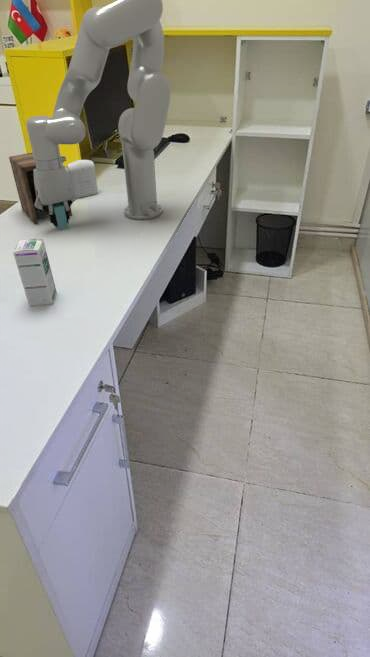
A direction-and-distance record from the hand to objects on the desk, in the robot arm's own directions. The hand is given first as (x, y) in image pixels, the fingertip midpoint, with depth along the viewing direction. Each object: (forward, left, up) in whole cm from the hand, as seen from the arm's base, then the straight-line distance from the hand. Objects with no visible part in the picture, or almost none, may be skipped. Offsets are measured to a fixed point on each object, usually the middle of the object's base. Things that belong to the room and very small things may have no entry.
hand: (60, 222), depth 140 cm
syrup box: (-37, +18, -2) cm, 41 cm away
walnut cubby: (+14, 0, -2) cm, 15 cm away
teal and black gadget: (+8, 0, -1) cm, 9 cm away
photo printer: (+23, -17, -2) cm, 29 cm away
